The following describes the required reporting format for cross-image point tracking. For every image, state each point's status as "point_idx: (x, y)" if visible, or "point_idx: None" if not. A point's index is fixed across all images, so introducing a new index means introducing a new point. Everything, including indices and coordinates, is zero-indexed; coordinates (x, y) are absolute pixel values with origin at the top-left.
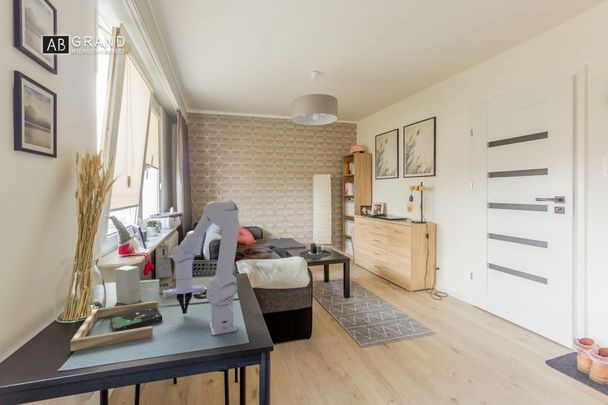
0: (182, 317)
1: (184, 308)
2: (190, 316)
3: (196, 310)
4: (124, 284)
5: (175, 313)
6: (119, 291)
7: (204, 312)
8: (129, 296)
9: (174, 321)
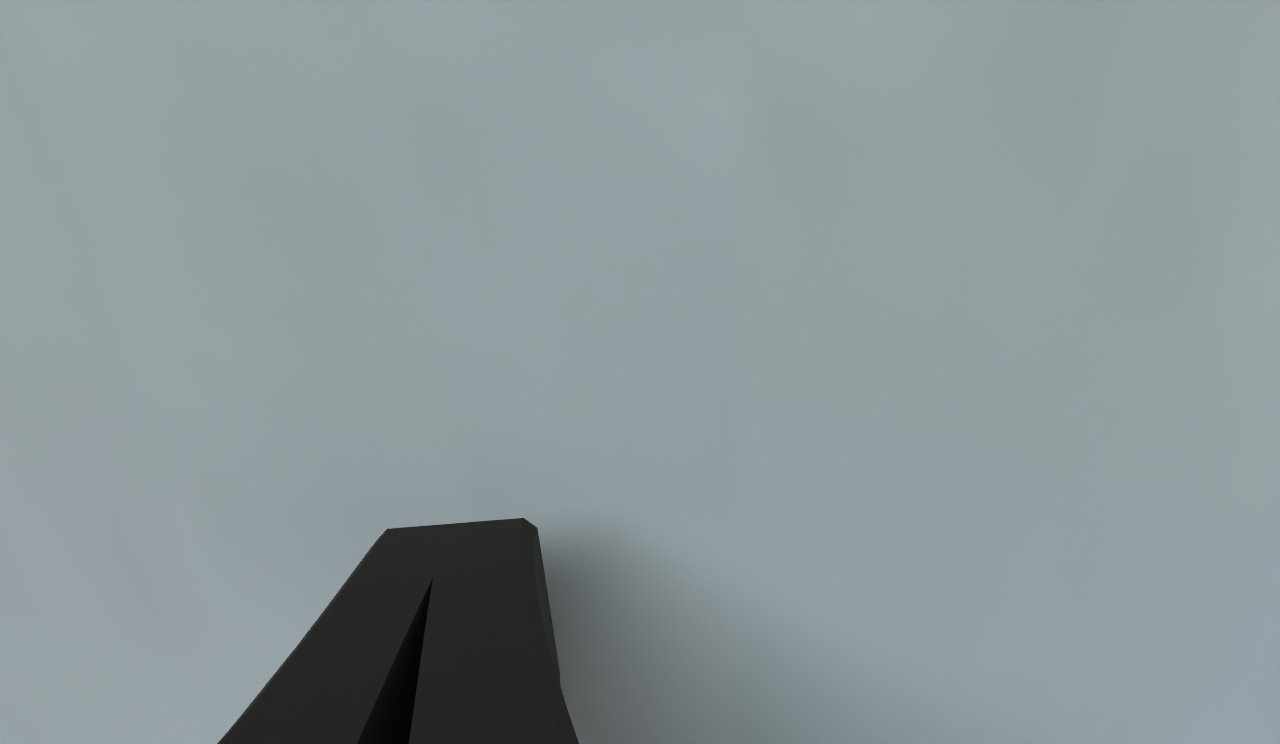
0: None
1: (430, 607)
2: (684, 560)
3: (940, 84)
4: None
5: (24, 134)
6: None
7: (1192, 387)
8: None
9: None
